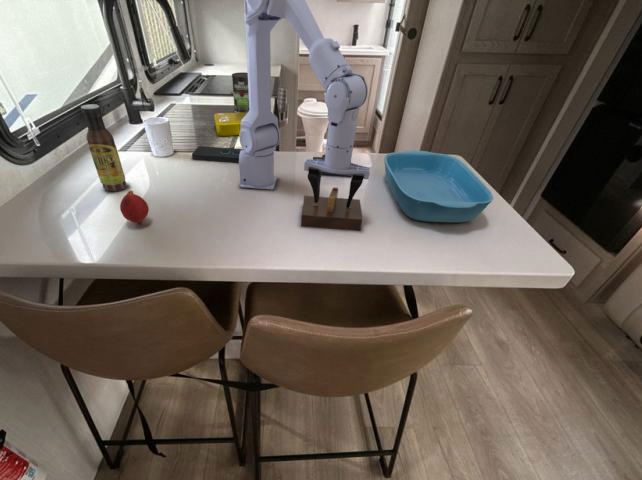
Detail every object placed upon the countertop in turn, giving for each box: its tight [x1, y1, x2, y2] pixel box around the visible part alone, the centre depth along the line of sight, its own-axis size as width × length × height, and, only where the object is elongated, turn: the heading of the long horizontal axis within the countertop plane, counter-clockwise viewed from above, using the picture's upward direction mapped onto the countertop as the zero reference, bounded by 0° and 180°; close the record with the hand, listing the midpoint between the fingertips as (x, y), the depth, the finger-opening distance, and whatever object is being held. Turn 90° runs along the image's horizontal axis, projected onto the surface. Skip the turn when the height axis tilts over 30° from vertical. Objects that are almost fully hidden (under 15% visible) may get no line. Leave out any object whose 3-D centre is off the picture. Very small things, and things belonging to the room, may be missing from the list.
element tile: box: [213, 112, 248, 137], centre depth 129 cm, size 15×15×5 cm
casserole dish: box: [384, 150, 494, 223], centre depth 89 cm, size 37×22×7 cm, turn 179°
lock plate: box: [300, 195, 363, 232], centre depth 81 cm, size 14×10×3 cm
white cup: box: [142, 116, 175, 158], centre depth 107 cm, size 8×8×10 cm
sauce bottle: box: [80, 103, 127, 192], centre depth 84 cm, size 6×6×20 cm
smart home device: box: [191, 145, 244, 164], centre depth 109 cm, size 8×2×20 cm
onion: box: [119, 189, 150, 224], centre depth 75 cm, size 6×6×8 cm
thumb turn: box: [327, 186, 339, 212], centre depth 78 cm, size 6×1×4 cm, turn 164°
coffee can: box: [231, 72, 249, 113], centre depth 145 cm, size 10×10×14 cm
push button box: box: [312, 153, 352, 178], centre depth 102 cm, size 12×9×4 cm
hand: (332, 203), depth 79 cm, fingers open, 7 cm apart
